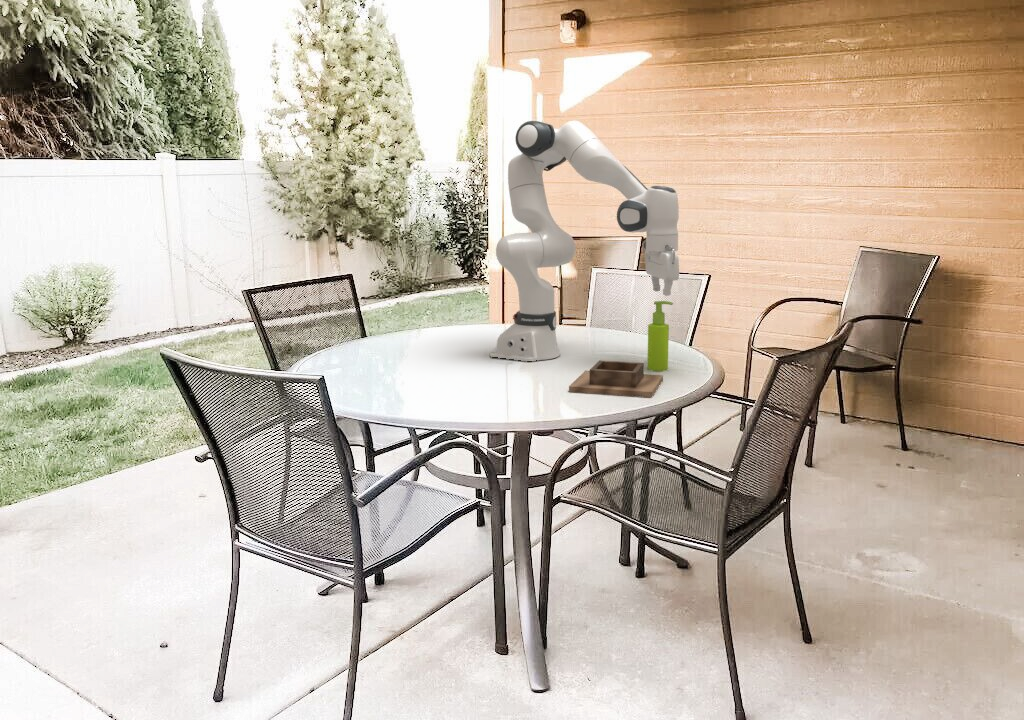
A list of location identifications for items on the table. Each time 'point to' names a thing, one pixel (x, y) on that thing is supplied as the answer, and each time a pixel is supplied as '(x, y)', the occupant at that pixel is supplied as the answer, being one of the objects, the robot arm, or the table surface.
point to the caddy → (617, 380)
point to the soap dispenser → (658, 339)
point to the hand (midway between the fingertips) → (661, 293)
